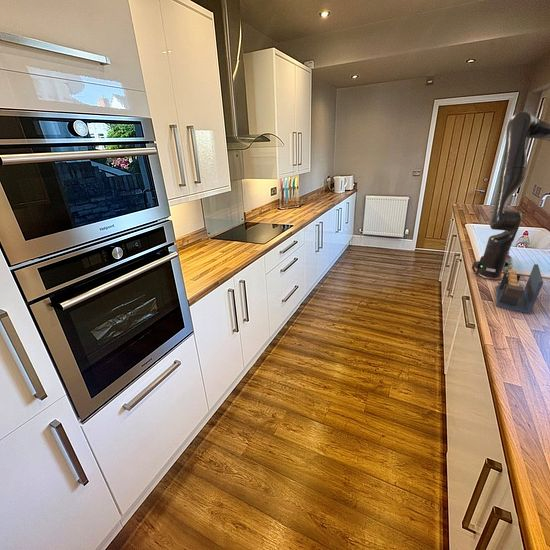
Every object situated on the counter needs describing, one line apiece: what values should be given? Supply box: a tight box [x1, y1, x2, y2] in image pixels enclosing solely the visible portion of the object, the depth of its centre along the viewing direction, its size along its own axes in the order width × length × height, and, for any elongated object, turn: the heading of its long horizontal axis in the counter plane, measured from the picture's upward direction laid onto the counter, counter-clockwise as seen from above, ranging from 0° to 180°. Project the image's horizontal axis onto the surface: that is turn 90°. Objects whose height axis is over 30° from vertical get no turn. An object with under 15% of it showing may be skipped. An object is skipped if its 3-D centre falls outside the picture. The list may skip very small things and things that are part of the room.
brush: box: [505, 269, 525, 299], centre depth 121 cm, size 22×5×3 cm, turn 145°
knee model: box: [503, 252, 515, 272], centre depth 157 cm, size 9×8×25 cm
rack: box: [495, 263, 544, 315], centre depth 122 cm, size 20×11×14 cm, turn 145°
